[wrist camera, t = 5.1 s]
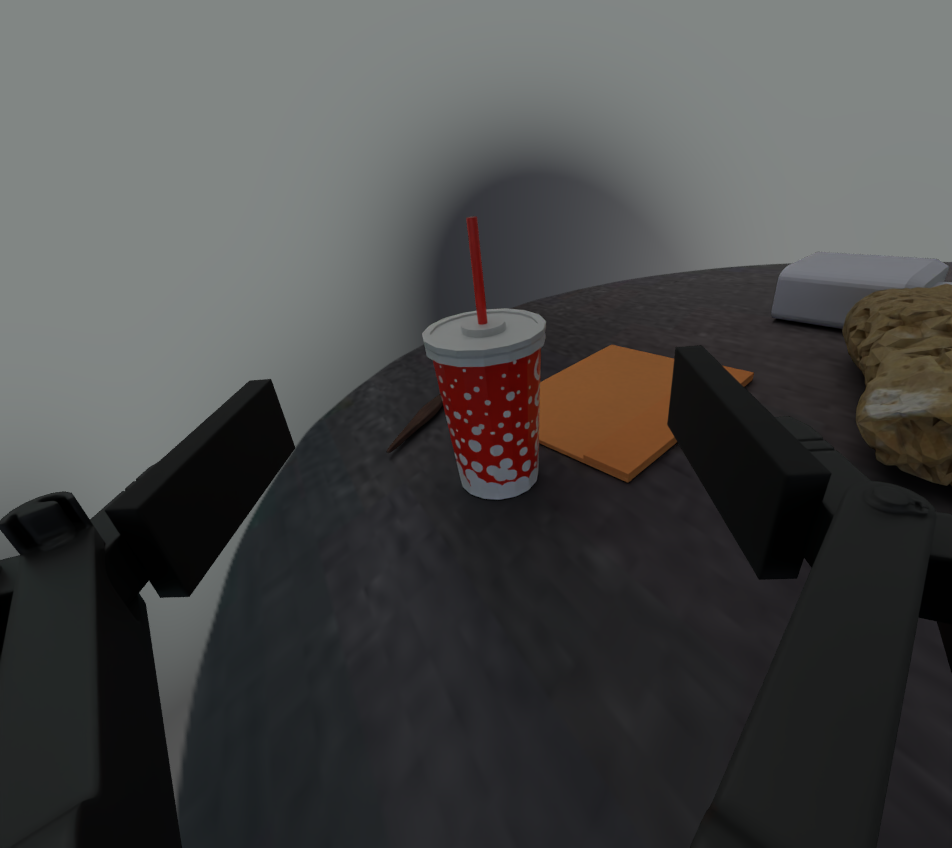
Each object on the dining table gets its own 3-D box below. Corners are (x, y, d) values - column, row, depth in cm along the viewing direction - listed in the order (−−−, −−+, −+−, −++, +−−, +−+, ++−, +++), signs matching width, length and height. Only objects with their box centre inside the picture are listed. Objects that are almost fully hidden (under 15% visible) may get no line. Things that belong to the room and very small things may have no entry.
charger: (996, 358, 33) (768, 321, 44) (1021, 322, 38) (810, 297, 48) (1027, 291, 31) (779, 269, 41) (1051, 261, 35) (822, 248, 46)
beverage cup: (532, 518, 24) (512, 224, 17) (428, 497, 26) (374, 233, 20) (563, 453, 29) (558, 202, 22) (473, 440, 31) (442, 211, 24)
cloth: (611, 347, 42) (611, 341, 42) (752, 380, 34) (754, 372, 34) (480, 417, 34) (479, 410, 34) (627, 483, 26) (628, 474, 25)
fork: (372, 456, 31) (365, 430, 30) (469, 361, 43) (467, 341, 42) (406, 461, 30) (400, 435, 29) (495, 363, 42) (493, 342, 41)
